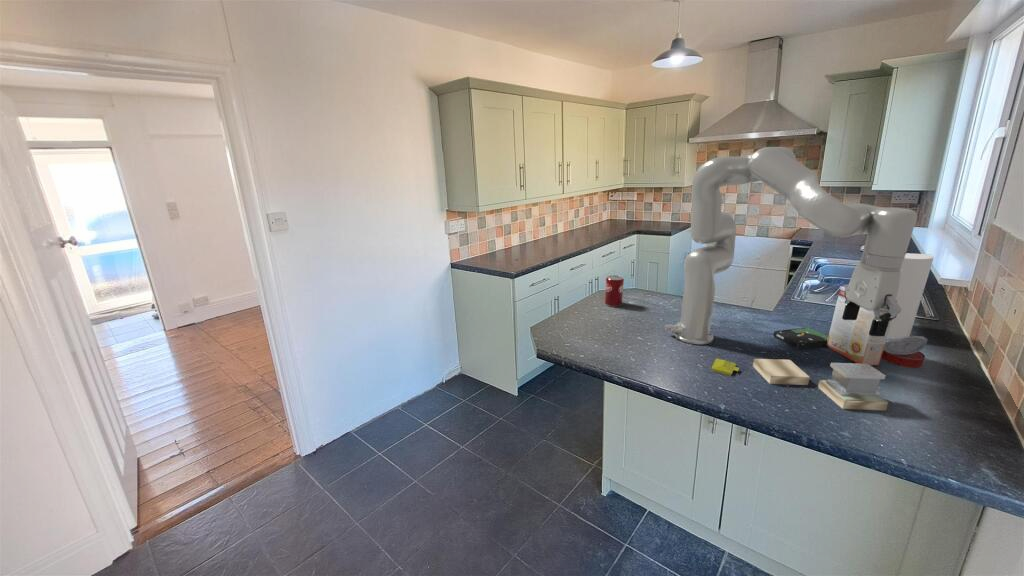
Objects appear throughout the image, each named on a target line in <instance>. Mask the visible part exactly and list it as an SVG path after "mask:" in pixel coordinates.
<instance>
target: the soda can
mask: <svg viewBox="0 0 1024 576" xmlns="http://www.w3.org/2000/svg"><path fill="white" fill-rule="evenodd" d="M624 280H625V279H624V277H623V276H621V275H612V274H611V275H608V276H606V278H605V289H604V304H605V305H606V306H608V307H611V308H617V307H618V308H619V307H621V306H622V305H623V295H624Z"/></svg>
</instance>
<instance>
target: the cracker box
mask: <svg viewBox="0 0 1024 576" xmlns="http://www.w3.org/2000/svg"><path fill="white" fill-rule="evenodd" d="M845 293H846V292H845V285H842V286H840V287H839V292H838V297H837V300H836V304H835V308H834V312H833V316H832V320H831V324H830V329H829V331H828V332H829V333H828V340H827V344H826V346H825V347H828V348H829V349H832V350H833V351H835V352H836V353H838V354H840V355H842V356H844V357H845V358H847V359H849V360H850V361H852V362H853V363H859V364H869V365H871V366H879V365H880V362H881V360H882V358H881V356H882V352H883V349H884V345H885V343H886V342H887V340H888V339H887V335H888V332H889V328H890V325H891V322H889V323H888V326H887V330H886V333H885V335H884V336H870V335H869V331H870V327H871V324H872V321H873V320H876V319H875V315H874V311H873V310H867V309H865V308H863V307H861V306H860V309H859V313H858V316H857V319H856V320H844V319H842V316H843V313H844V309H845V305H847V304H845V300H846V298H845ZM897 301H898V300H896V302H897ZM880 313H881V315H883V314H884V312H880Z"/></svg>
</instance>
